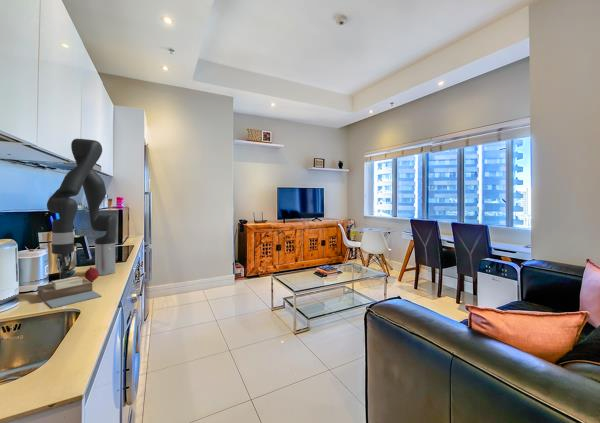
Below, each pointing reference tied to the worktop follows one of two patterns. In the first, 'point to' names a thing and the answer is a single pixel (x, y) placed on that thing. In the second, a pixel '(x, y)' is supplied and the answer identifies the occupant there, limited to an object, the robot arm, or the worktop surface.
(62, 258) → the robot arm
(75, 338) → the worktop surface
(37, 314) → the worktop surface
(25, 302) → the worktop surface
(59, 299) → the mat
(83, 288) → the deck
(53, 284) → the tile
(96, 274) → the onion
